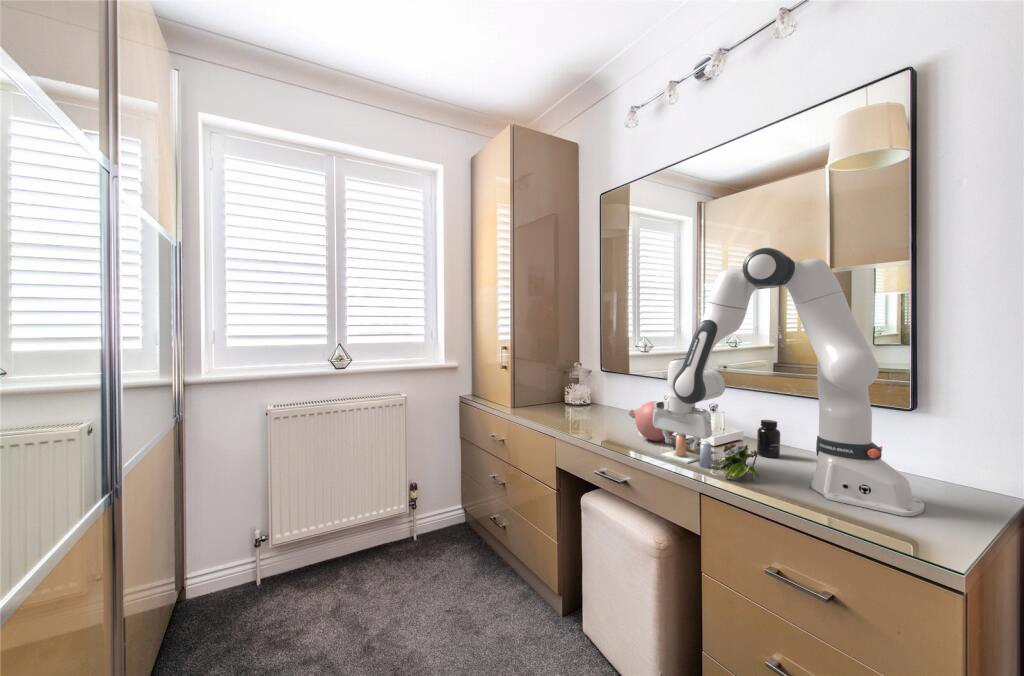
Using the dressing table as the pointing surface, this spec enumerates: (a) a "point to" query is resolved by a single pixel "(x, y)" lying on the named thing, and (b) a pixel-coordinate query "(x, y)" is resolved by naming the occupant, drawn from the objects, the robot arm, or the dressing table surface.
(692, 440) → the button
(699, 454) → the button block
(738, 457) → the passion flower
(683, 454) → the cylinder
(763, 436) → the supplement bottle
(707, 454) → the cylinder
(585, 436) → the dressing table surface
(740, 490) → the dressing table surface
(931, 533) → the dressing table surface
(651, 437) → the pink balloon
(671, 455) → the sketch pad
